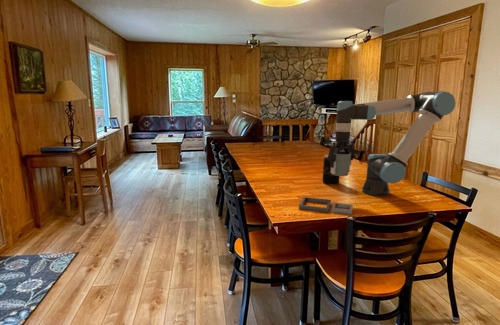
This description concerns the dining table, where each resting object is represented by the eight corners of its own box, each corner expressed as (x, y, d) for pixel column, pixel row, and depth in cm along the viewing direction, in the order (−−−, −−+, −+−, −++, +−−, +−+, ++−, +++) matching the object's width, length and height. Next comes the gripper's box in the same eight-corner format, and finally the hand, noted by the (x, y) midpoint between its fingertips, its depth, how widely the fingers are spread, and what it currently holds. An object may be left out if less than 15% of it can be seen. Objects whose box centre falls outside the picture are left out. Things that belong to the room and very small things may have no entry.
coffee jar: (321, 184, 202) (322, 156, 199) (323, 180, 212) (324, 154, 209) (338, 185, 199) (340, 158, 195) (339, 181, 209) (341, 155, 205)
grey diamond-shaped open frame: (352, 208, 159) (352, 204, 158) (351, 214, 150) (352, 210, 149) (333, 206, 162) (333, 202, 161) (331, 212, 153) (332, 208, 152)
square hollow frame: (330, 203, 166) (331, 199, 165) (328, 212, 152) (328, 208, 152) (303, 200, 170) (303, 196, 170) (298, 209, 157) (299, 205, 157)
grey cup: (346, 172, 174) (347, 150, 172) (352, 176, 164) (354, 154, 162) (328, 172, 174) (329, 150, 171) (333, 176, 164) (334, 154, 161)
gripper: (353, 129, 172) (350, 169, 177) (321, 131, 163) (319, 172, 167) (364, 130, 166) (360, 171, 170) (331, 132, 156) (328, 176, 161)
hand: (340, 172), depth 169 cm, fingers closed on grey cup, 9 cm apart
